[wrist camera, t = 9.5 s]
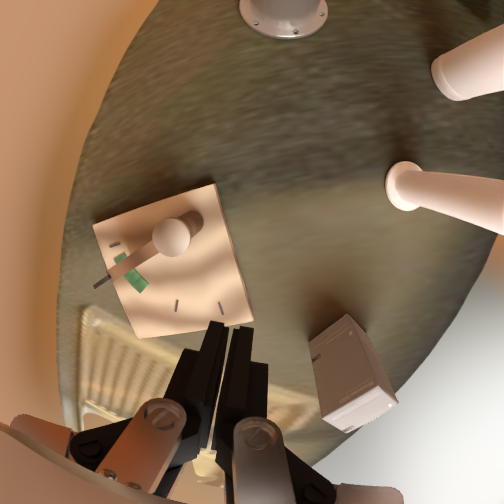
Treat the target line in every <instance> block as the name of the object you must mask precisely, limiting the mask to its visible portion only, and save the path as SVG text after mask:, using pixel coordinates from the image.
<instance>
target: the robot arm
mask: <svg viewBox="0 0 504 504" xmlns="http://www.w3.org/2000/svg"><path fill="white" fill-rule="evenodd" d="M239 9H240V13H241V16H242V18H243V20H244V21H245V23H246V24H247V25H248V26H249V27H250V28H252V29H253V30H255V31H256V32H258V33H261V34H263V35H265V36H269V37H272V38H278V39H299V38H303V37H307V36H309V35H311V34H314V33H315V32H317V31H318V30H319V29H320V28H321V27H322V26H323V25H324V23H325V21H326V19H327V16H328V8H327V4H326V2H325V0H240V3H239ZM294 33H296V34H294ZM224 324H225V323H222V322H217V321H212V320H211V321H210V323H209V326H208V329H207V331H206V334H205V337H204V340H203V343H202V346H201V348H200V351H195V350H191V349H186V348H185V349H184V350H183V352H182V354H181V357H180V359H179V361H178V364H177V366H176V368H175V371H174V373H173V376H172V378H171V380H170V383H169V385H168V388H167V390H166V392H165V395H164V397H163V398H155V399H151V400H149V401H147V402H145V403H144V404H143V405H142V406H141V407H140V409H139V410H138V412H137V413H136V414H135V416H134V417H133V418H129V419H126V420H123V421H119V422H116V423H112V424H109V425H105V426H102V427H98V428H94V429H90V430H86V431H82V432H80V433H78V432H74V431H73V430H72V429H71V428H67V427H64V426H60V425H57V424H54V423H51V422H48V421H45V420H42V419H39V418H36V417H33V416H30V415H27V414H22V415H18V416H17V417H15V418H14V419H13V421H12V422H11V424H10V426H8V425H6V424H3V423H1V422H0V504H186V503H181V502H178V501H174V500H170V497H171V495H172V493H173V491H174V489H175V487H176V485H177V483H178V481H179V479H180V476H181V474H182V472H183V470H184V468H185V466H186V463H187V462H188V461H191V460H193V459H195V458H197V454H199V452H200V448H206V447H207V443H208V438H209V434H210V429H211V424H212V420H213V415H214V411H215V406H216V401H217V397H218V392H219V388H220V383H221V378H222V372H223V365H224V359H225V352H226V346H227V340H228V333H229V327H224ZM253 332H254V328H250V327H244V326H240V328H239V329H233V334H232V339H231V344H230V348H229V353H228V358H227V363H226V367H225V372H224V377H223V381H222V386H221V391H220V396H219V401H218V406H217V412H216V419H215V426H214V432H213V439H212V446H211V450H216V451H217V454H216V459H215V462H216V463H217V464H218V465H219V466H220V467H221V468H222V470H223V484H224V504H404V500H403V495H402V494H401V492H400V491H399V490H397V489H396V488H392V487H380V486H364V485H363V486H362V485H353V484H344V483H341V484H340V485H335V484H332V483H331V482H330V481H329V480H327V479H326V478H324V477H323V476H322V475H320V474H319V473H318V472H316V471H315V470H314V469H312V468H311V467H310V466H308V465H307V464H306V463H305V462H303V461H302V460H301V459H300V458H298V457H297V456H296V455H295V454H293V453H292V452H291V451H290V450H289V449H287V448H286V447H285V446H284V442H283V437H282V433H281V431H280V428H279V427H278V426H277V425H276V424H275V423H274V422H272V421H271V420H268V419H267V395H268V364H265V363H258V362H252V361H251V351H252V341H253Z"/></svg>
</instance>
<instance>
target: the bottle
mask: <svg viewBox="0 0 504 504" xmlns="http://www.w3.org/2000/svg"><path fill="white" fill-rule="evenodd" d="M431 73H432V77H433V80H434V82H435V84H436V86H437V87H438V89H439V90H440V91H441V93H443V94H444V95H445V96H446V97H447V98H449V99H451V100H453V101H461V100H467V99H470V98H472V97H476V96H480V95H484V94H488V93H493V92H497V91H502V90H504V24H503V25H501V26H498V27H496V28H494V29H492V30H490V31H488V32H486V33H484V34H482V35H480V36H478V37H476V38H474V39H472V40H470V41H468V42H466V43H464V44H462V45H460V46H458V47H456V48H455V49H453V50H451V51H449V52H447V53H445V54H442V55H440V56H439V57H438V58H436V59H435V60H434V61H433V63H432V65H431Z"/></svg>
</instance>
